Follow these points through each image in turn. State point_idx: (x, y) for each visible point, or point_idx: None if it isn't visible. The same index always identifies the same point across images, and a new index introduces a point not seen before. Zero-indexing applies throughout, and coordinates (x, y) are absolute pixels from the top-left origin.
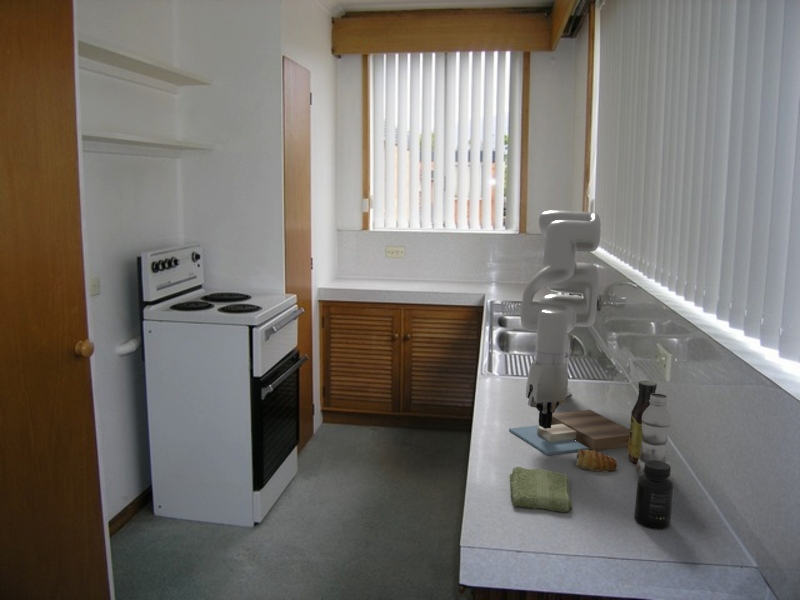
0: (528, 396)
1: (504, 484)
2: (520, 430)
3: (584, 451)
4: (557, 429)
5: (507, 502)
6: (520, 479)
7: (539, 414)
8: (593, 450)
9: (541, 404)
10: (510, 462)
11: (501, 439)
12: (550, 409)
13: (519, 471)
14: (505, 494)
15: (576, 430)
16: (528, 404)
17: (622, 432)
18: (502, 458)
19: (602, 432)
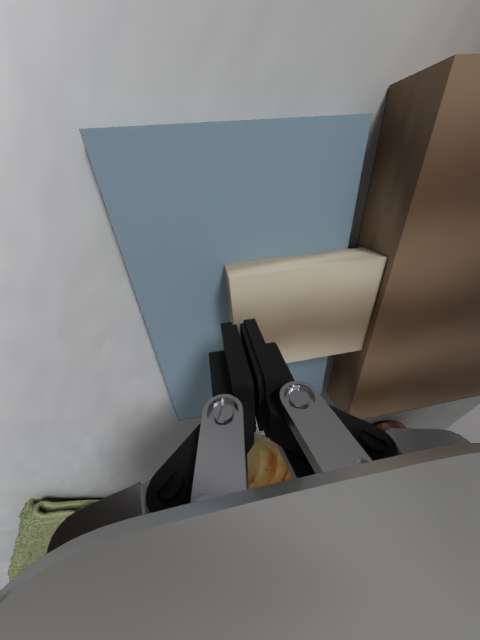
0: (32, 606)
1: (7, 521)
2: (153, 191)
3: (252, 483)
4: (305, 324)
5: (11, 555)
6: (32, 559)
7: (212, 393)
8: (281, 474)
9: (239, 460)
10: (38, 448)
11: (15, 268)
12: (283, 451)
13: (35, 541)
14: (8, 542)
15: (365, 349)
16: (60, 541)
17: (472, 382)
18: (9, 429)
19: (421, 380)
